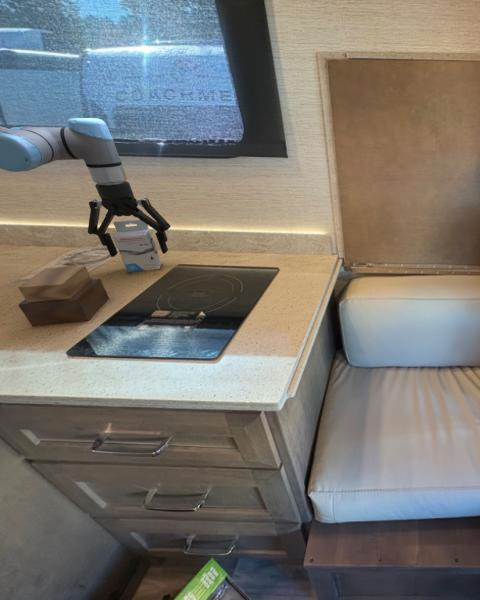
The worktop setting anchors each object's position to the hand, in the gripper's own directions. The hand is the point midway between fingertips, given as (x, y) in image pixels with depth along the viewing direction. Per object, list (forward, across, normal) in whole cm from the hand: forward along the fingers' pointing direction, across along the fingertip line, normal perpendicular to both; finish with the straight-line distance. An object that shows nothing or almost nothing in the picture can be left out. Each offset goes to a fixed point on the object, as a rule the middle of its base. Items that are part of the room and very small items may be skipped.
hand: (140, 253), depth 102 cm
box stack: (+5, +8, +24) cm, 26 cm away
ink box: (+5, 0, 0) cm, 5 cm away
